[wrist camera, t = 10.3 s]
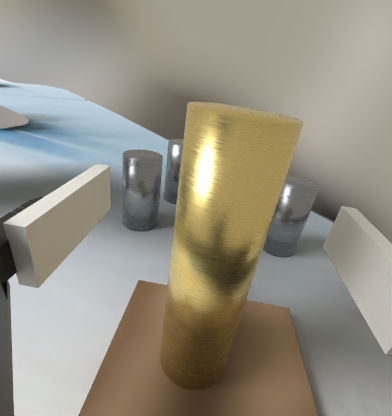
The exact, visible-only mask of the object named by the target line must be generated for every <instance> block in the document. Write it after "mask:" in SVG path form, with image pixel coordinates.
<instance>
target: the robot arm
mask: <svg viewBox="0 0 392 416" xmlns="http://www.w3.org/2000/svg"><path fill="white" fill-rule="evenodd" d="M110 209H111V193H110V166H106V165H100V164H96V165H94V166H92V167H91V168H89V169H88V170H86V171H85V172H83V173H81V174H80V175H78V176H77V177H75V178H73V179H72V180H70V181H69V182H67V183H66V184H64V185H62V186H61V187H59V188H58V189H56V190H55V191H53V192H51V193H50V194H48V195H47V196H45V197H39V198H36V199H33V200H30V201H28V202H27V203H25V204H23V205H22V206H20V207H18V208H17V209H15V210H13V212H10V213H8V214H7V215H5V216H3V217H2V218H0V416H14V403H13V371H12V340H11V308H10V285H9V282H8V279H9V278H11V277H12V276H13V275H14V274H15V273H16V274H17V278H18V282H19V284H20V285H26V286H31V287H36V288H39V287H40V286H41V285H42V284H43V282H44V281H45V280H46V279H47V278H48V277H49V276H50V275H51V274H52V273H53V271H54V270H55V269H56V268H57V267H58V266H59V265H60V264H61V263H62V262H63V261H64V259H65V258H66V257H67V256H68V255H69V254H70V253H71V252H72V251H73V250H74V248H75V247H76V246H77V245H78V244H79V243H80V242H81V241H82V240H83V239H84V238H85V236H86V235H87V234H88V233H89V232H90V231H91V230H92V229H93V228H94V227H95V226H96V224H97V223H98V222H99V221H100V220H101V219H102V218H103V217H104V216H105V215H106V213H107V212H108V211H109V210H110ZM323 248H324V249H325V251H326V253H327V254H328V256H329V258H330V260H331V261H332V263H333V265H334V267H335V268H336V270H337V272H338V273H339V275H340V277H341V279H342V280H343V282H344V284H345V286H346V287H347V289H348V291H349V293H350V294H351V296H352V298H353V299H354V301H355V303H356V305H357V306H358V308H359V310H360V312H361V313H362V315H363V317H364V318H365V320H366V322H367V324H368V325H369V327H370V329H371V331H372V332H373V334H374V336H375V337H376V339H377V341H378V343H379V344H380V346H381V348H382V350H383V351H384V353H385V355H389V356H392V244H391V243H390V242H389V241H388V240H387V239H386V238H385V237H384V236H383V235H382V234H381V233H380V232H379V231H378V230H377V229H376V228H375V227H374V226H373V225H372V224H371V223H370V222H369V221H368V220H367V219H366V218H365V217H364V216H363V215H362V214H361V213H360V212H359V211H358V210H357V209H356V208H350V207H344V206H342V207H341V209H340V211H339V213H338V216H337V218H336V220H335V222H334V224H333V226H332V228H331V230H330V233H329V235H328V237H327V239H326V241H325V243H324V245H323Z"/></svg>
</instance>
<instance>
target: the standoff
mask: <svg viewBox="0 0 392 416" xmlns="http://www.w3.org/2000/svg"><path fill="white" fill-rule="evenodd" d="M302 126H303V121H301V120H299V119H296V118H293V117H289V116H286V115H281V114H277V113H273V112H268V111H263V110H258V109H252V108H247V107H240V106H233V105H226V104H217V103H208V102H189V103H188V106H187V115H186V124H185V132H184V141H183V150H182V159H181V168H180V177H179V186H178V195H177V204H176V213H175V222H174V231H173V240H172V249H171V258H170V267H169V276H168V285H167V294H166V303H165V312H164V321H163V330H162V339H161V348H160V361H161V365H162V368H163V370H164V372H165V374H166V375H167V377H168V378H169V379H170V380H171V381H172V382H173V383H175V384H176V385H178V386H180V387H182V388H185V389H188V390H201V389H205V388H208V387H209V386H211V385H213V384H214V383H215V382H216V381H217V380H218V379H219V378H220V376H221V374H222V373H223V370H224V367H225V364H226V361H227V358H228V355H229V352H230V348H231V345H232V342H233V339H234V336H235V333H236V330H237V327H238V324H239V321H240V318H241V314H242V311H243V308H244V305H245V302H246V299H247V296H248V293H249V290H250V287H251V284H252V280H253V277H254V274H255V271H256V268H257V265H258V262H259V259H260V256H261V253H262V250H263V246H264V243H265V240H266V237H267V234H268V231H269V228H270V225H271V222H272V219H273V215H274V212H275V209H276V206H277V203H278V200H279V197H280V194H281V191H282V188H283V185H284V181H285V178H286V175H287V172H288V169H289V166H290V163H291V160H292V157H293V154H294V151H295V147H296V144H297V141H298V138H299V135H300V132H301V129H302Z"/></svg>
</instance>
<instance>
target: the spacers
mask: <svg viewBox="0 0 392 416" xmlns="http://www.w3.org/2000/svg"><path fill="white" fill-rule="evenodd" d="M183 141H184V139H171V140H169V142H168V154H167V166H166V177H165V189H164V199H165V200H167V201H168V202H171V203H174V204H177V195H178V186H179V177H180V168H181V159H182V150H183ZM162 160H163V156H162V155H161V154H159V153H156V152H153V151H148V150H128V151H125V152H124V153H123V224H124V226H125V227H127V228H129V229H131V230H135V231H147V230H150V229H153V228H154V227H156V225H157V223H158V212H159V199H160V186H161V173H162ZM319 188H320V187H319V185H318V184H317V183H315V182H313V181H311V180H309V179H307V178H304V177H300V176H296V175H289V174H287V175H286V178H285V181H284V185H283V188H282V191H281V194H280V197H279V200H278V203H277V206H276V209H275V212H274V215H273V219H272V222H271V225H270V228H269V231H268V234H267V237H266V240H265V243H264V246H263V250H265V251H266V252H268V253H270V254H272V255H275V256H279V257H288V256H291V255H292V254H293V252H294V250H295V247H296V245H297V242H298V240H299V237H300V235H301V232H302V230H303V227H304V225H305V223H306V220H307V218H308V215H309V213H310V210H311V207H312V205H313V203H314V200H315V198H316V195H317V193H318V190H319Z"/></svg>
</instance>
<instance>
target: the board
mask: <svg viewBox="0 0 392 416" xmlns="http://www.w3.org/2000/svg"><path fill="white" fill-rule="evenodd" d="M166 294H167V285H162V284H157V283H152V282H146V281H141V280H139V281H138V283H137V285H136V288H135V290H134V292H133V294H132V297H131V299H130V301H129V303H128V306H127V308H126V310H125V312H124V315H123V317H122V319H121V321H120V324H119V326H118V328H117V330H116V333H115V335H114V337H113V339H112V342H111V344H110V346H109V348H108V351H107V353H106V355H105V357H104V360H103V362H102V364H101V366H100V369H99V371H98V373H97V375H96V378H95V380H94V382H93V384H92V387H91V389H90V391H89V393H88V395H87V398H86V400H85V402H84V404H83V407H82V409H81V411H80V413H79V416H318V414H317V411H316V407H315V403H314V400H313V396H312V392H311V389H310V385H309V381H308V377H307V374H306V370H305V366H304V363H303V359H302V355H301V352H300V348H299V344H298V340H297V337H296V333H295V329H294V326H293V322H292V318H291V315H290V311H289V308H284V307H279V306H274V305H268V304H263V303H258V302H252V301H247V300H246V302H245V305H244V308H243V311H242V314H241V318H240V321H239V324H238V327H237V330H236V333H235V336H234V339H233V342H232V345H231V348H230V352H229V355H228V358H227V361H226V364H225V367H224V370H223V373H222V374H221V376H220V378H219V379H218V380H217V381H216V382H215V383H214V384H213V385H211V386H209V387H208V388H205V389H201V390H188V389H185V388H182V387H180V386H178V385H176V384H175V383H173V382H172V381H171V380H170V379H169V378H168V377H167V375H166V374H165V372H164V370H163V368H162V365H161V361H160V348H161V339H162V330H163V321H164V312H165V303H166Z"/></svg>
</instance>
